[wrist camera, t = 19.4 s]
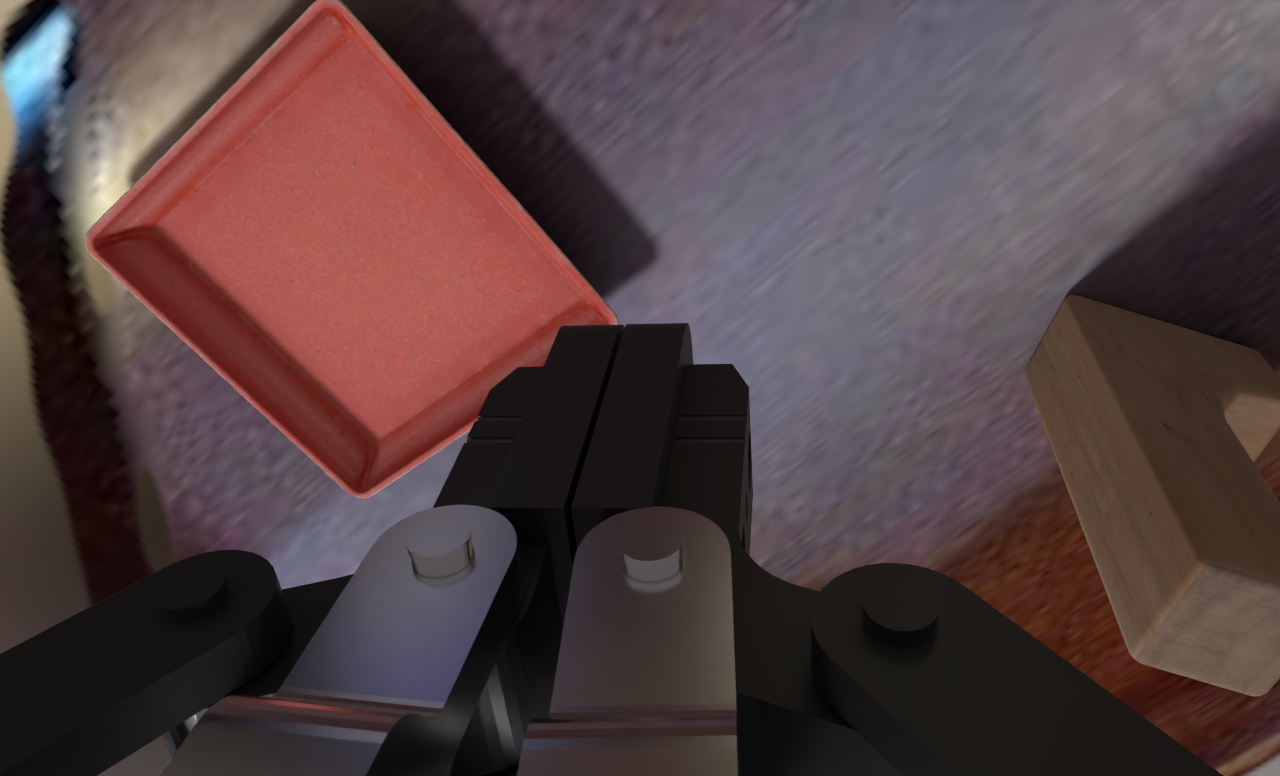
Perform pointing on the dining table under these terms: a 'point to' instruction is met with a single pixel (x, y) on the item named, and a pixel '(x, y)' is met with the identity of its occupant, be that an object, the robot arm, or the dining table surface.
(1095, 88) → the dining table surface
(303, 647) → the robot arm
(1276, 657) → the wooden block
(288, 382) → the plant saucer
